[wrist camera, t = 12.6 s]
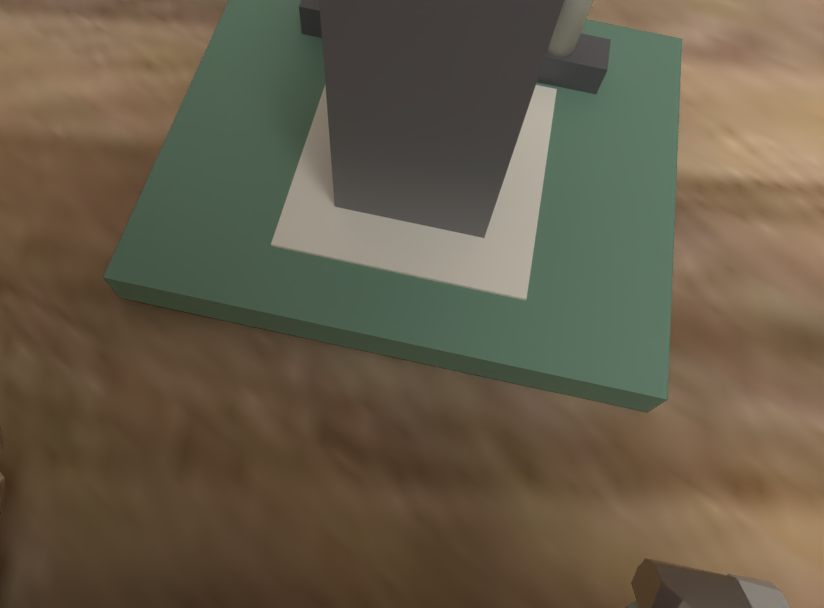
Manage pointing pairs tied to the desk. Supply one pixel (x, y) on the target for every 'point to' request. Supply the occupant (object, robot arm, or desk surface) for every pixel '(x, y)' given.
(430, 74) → the plug
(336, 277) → the header board
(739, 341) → the desk surface
